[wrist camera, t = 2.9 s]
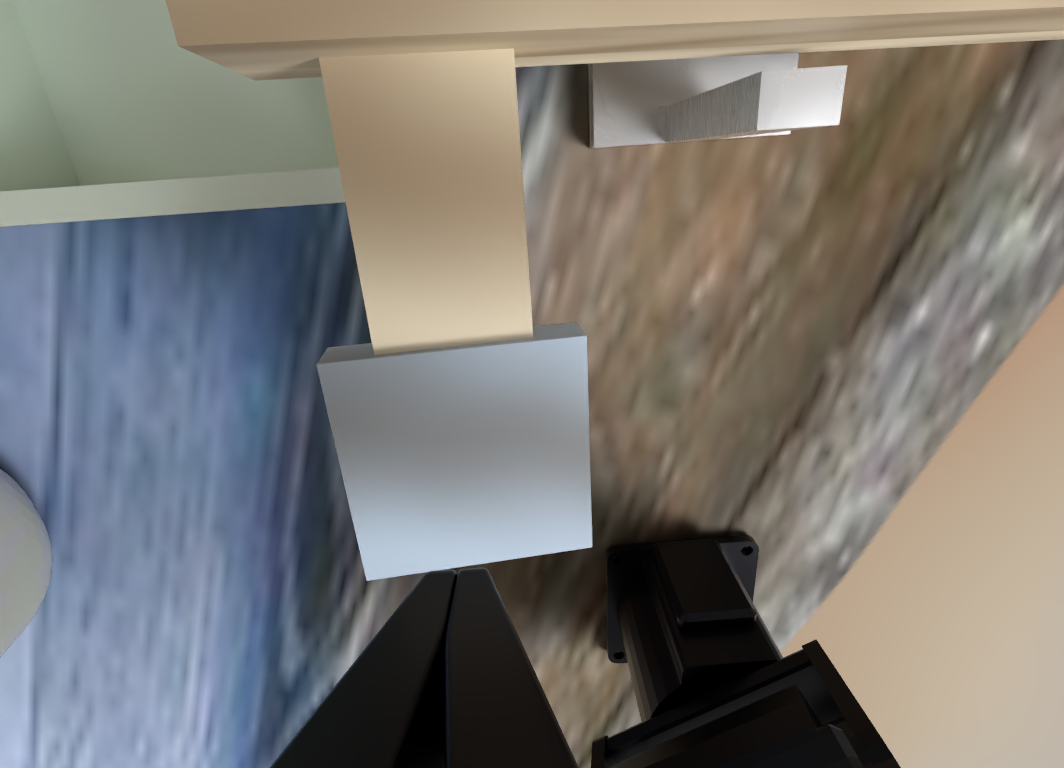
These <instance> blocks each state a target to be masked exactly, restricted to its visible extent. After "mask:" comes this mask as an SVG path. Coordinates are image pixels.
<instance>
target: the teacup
mask: <svg viewBox="0 0 1064 768" xmlns="http://www.w3.org/2000/svg"><path fill="white" fill-rule="evenodd" d="M52 560H53V557H52V550H51V543H50V539H49V536H48V533H47V530H46V527H45V524H44V522H43V520H42V518H41V516H40V515H39V513H38V512H37V510H36V508H35V507H34V506H33V504H32V501H31V500H30V499H29V497H28V496H27V494H26V493H25V491H24V490H23V489H22V488H21V487H20V486H19V485H18V484H17V482H16V481H15V480H14V479H13V478H12V477H10V476H9V475H8V474H6V473H5V472H4V471H3V470H1V469H0V657H1V656H2V655H3V654H4V652H5V651H6V650H7V649H8V648H9V647H10V645H11V644H12V643H13V642H14V641H15V640H16V638H17V637H18V636H19V635H20V634H21V632H22V631H23V630H24V628H25V627H26V626H27V625H28V623H29V622H30V620H31V619H32V618H33V616H34V615H35V613H36V611H37V610H38V608H39V606H40V604H41V602H42V600H43V598H44V596H45V594H46V592H47V589H48V586H49V583H50V579H51V572H52Z"/></svg>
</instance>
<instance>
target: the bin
mask: <svg viewBox="0 0 1064 768" xmlns="http://www.w3.org/2000/svg"><path fill="white" fill-rule="evenodd" d="M343 202H345V196H344V191H343V186H342V180H341V175H340V170H339V164H338V159H337V154H336V148H335V143H334V137H333V132H332V127H331V121H330V116H329V111H328V105H327V100H326V95H325V89H324V84H323V79H322V77H316V78H296V79H277V80H257V81H255V80H253V79H250V78H248V77H246V76H244V75H241V74H239V73H237V72H235V71H232V70H230V69H228V68H226V67H224V66H221V65H219V64H217V63H215V62H212V61H210V60H208V59H206V58H203V57H201V56H199V55H197V54H195V53H192V52H190V51H188V50H186V49H183V48H181V47H179V46H178V44H177V41H176V37H175V33H174V29H173V26H172V22H171V18H170V15H169V11H168V7H167V4H166V0H0V227H5V226H19V225H33V224H47V223H61V222H75V221H89V220H103V219H117V218H131V217H145V216H159V215H174V214H188V213H202V212H216V211H230V210H244V209H258V208H272V207H286V206H300V205H314V204H328V203H343Z"/></svg>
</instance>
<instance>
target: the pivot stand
mask: <svg viewBox="0 0 1064 768" xmlns="http://www.w3.org/2000/svg"><path fill="white" fill-rule="evenodd" d="M798 58H799V53H782V54H763V55H743V56H724V57H704V58H685V59H666V60H646V61H627V62H607V63H588V92H589V137H590V148H604V147H619V146H633V145H647V144H661V143H675V142H690V141H704V140H718V139H732V138H746V137H761V136H775V135H785V134H790V132H791V130H799V129H808V128H816V127H825V126H833V125H839V122H840V115H841V108H842V100H843V93H844V86H845V79H846V71H847V65H844V66H830V67H815V68H801V69H797V67H798Z"/></svg>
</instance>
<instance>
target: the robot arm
mask: <svg viewBox="0 0 1064 768" xmlns="http://www.w3.org/2000/svg"><path fill="white" fill-rule="evenodd" d="M746 546H748V547H747V548H746V549H743V548H744V547H746ZM742 549H743V550H742ZM758 552H759V548H758V545H757V544H756V542H755V541H754V539H753V538H752V537H750V536H746V535H742V536H729V537H716V538H703V539H690V540H677V541H665V542H652V543H639V544H626V545H615V546H612V547H610V548H609V549H608V550H607V551H606V554H605V571H606V631H607V653H608V657H609V660H610V661H611V662H614V663H628V665H629V670H630V674H631V678H632V682H633V687H634V691H635V695H636V699H637V704H638V708H639V712H640V716H641V721H642V723H639V724H637V725H635V726H633V727H631V728H628V729H626V730H624V731H622V732H620V733H617V734H615V735H613V736H611V737H608V736H604V737H602V738H599V739H597V740H595V741H593V743H592V759H591V768H901V767H900V766H899V765H898V763H897V761H896V760H895V758H894V757H893V755H892V753H891V752H890V750H889V749H888V748H887V746H886V744H885V743H884V741H883V739H882V738H881V737H880V735H879V734H878V732H877V731H876V729H875V727H874V726H873V724H872V723H871V721H870V720H869V718H868V717H867V715H866V714H865V712H864V711H863V709H862V708H861V706H860V705H859V703H858V702H857V700H856V699H855V697H854V696H853V694H852V693H851V691H850V690H849V688H848V687H847V685H846V684H845V682H844V681H843V679H842V678H841V676H840V675H839V673H838V672H837V670H836V668H835V667H834V665H833V664H832V663H831V661H830V660H829V658H828V656H827V655H826V653H825V652H824V650H823V649H822V647H821V646H820V644H819V643H818V641H817V640H814V641H812V642H809V643H807V644H805V645H803V646H802V648H803V649H802V650H800V651H797V652H795V653H793V654H791V655H788V656H786V657H784V658H783V657H782V655H781V653H780V651H779V649H778V648H777V646H776V644H775V642H774V640H773V638H772V637H771V635H770V633H769V631H768V629H767V628H766V626H765V624H764V622H763V620H762V619H761V617H760V615H759V613H758V611H757V609H756V608H755V606H754V604H753V595H754V586H755V578H756V569H757V561H758ZM617 556H622V557H621V558H620V559H614V558H615V557H617ZM619 651H620V652H619ZM270 768H578V765H577V763H576V761H575V759H574V757H573V754H572V752H571V750H570V748H569V746H568V743H567V741H566V739H565V737H564V735H563V733H562V730H561V728H560V726H559V724H558V722H557V719H556V717H555V715H554V713H553V711H552V708H551V706H550V704H549V702H548V700H547V698H546V695H545V693H544V691H543V689H542V687H541V684H540V682H539V680H538V678H537V676H536V673H535V671H534V669H533V667H532V665H531V663H530V660H529V658H528V656H527V654H526V652H525V649H524V647H523V645H522V643H521V641H520V638H519V636H518V634H517V632H516V630H515V628H514V625H513V623H512V621H511V619H510V617H509V614H508V612H507V610H506V608H505V606H504V604H503V601H502V599H501V597H500V595H499V593H498V590H497V588H496V586H495V584H494V582H493V579H492V577H491V575H490V573H489V571H488V570H487V569H486V568H469V569H461V570H460V571H459V572H458V573H457V572H456V571H455V570H438V571H430V572H428V573H426V574H425V575H424V576H423V577H422V579H421V580H420V581H419V582H418V584H417V585H416V586H415V587H414V589H413V590H412V591H411V592H410V594H409V595H408V596H407V597H406V599H405V600H404V601H403V602H402V604H401V605H400V606H399V607H398V609H397V610H396V611H395V612H394V614H393V615H392V616H391V617H390V618H389V620H388V621H387V622H386V623H385V625H384V626H383V627H382V628H381V630H380V631H379V632H378V633H377V635H376V636H375V637H374V638H373V640H372V641H371V642H370V643H369V645H368V646H367V647H366V648H365V650H364V651H363V652H362V653H361V655H360V656H359V657H358V658H357V660H356V661H355V662H354V663H353V665H352V666H351V667H350V668H349V670H348V671H347V672H346V673H345V675H344V676H343V677H342V678H341V680H340V681H339V682H338V683H337V684H336V686H335V687H334V688H333V689H332V691H331V692H330V693H329V694H328V696H327V697H326V698H325V699H324V701H323V702H322V703H321V704H320V706H319V707H318V708H317V709H316V711H315V712H314V713H313V714H312V716H311V717H310V718H309V719H308V721H307V722H306V723H305V724H304V726H303V727H302V728H301V729H300V731H299V732H298V733H297V734H296V736H295V737H294V738H293V739H292V741H291V742H290V743H289V744H288V746H287V747H286V748H285V749H284V751H283V752H282V753H281V754H280V755H279V757H278V758H277V759H276V760H275V762H274V763H273V764H272V765H271V767H270Z"/></svg>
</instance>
